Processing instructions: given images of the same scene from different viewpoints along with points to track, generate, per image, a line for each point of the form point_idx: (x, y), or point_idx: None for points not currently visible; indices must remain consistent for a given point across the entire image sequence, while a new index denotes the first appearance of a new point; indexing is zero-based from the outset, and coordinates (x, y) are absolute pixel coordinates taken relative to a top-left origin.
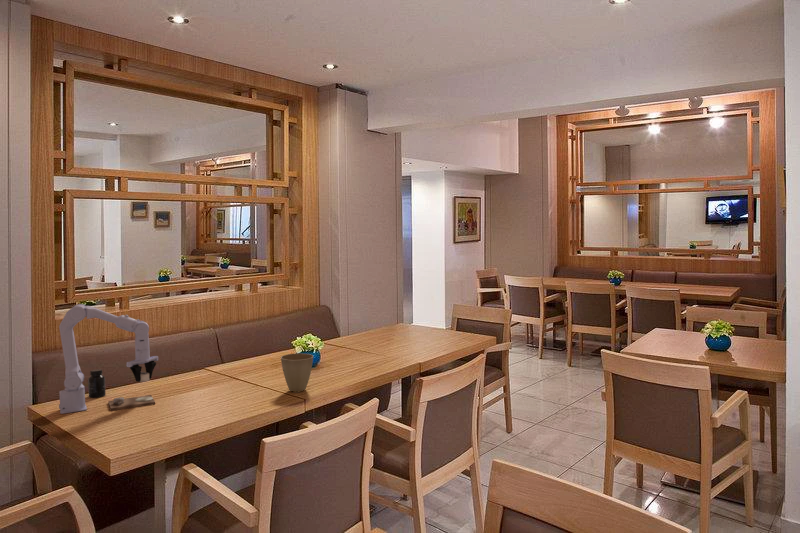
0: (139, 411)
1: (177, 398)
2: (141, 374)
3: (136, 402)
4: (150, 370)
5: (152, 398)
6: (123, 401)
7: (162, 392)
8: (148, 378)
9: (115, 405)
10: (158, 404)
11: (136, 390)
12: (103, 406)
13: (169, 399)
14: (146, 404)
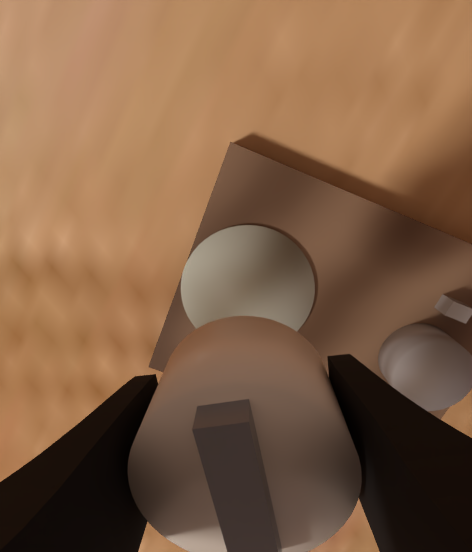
0: (441, 37)
1: (25, 140)
2: (297, 466)
3: (332, 263)
4: (78, 486)
5: (197, 250)
6: (402, 336)
7: (45, 391)
8: (199, 342)
9: (468, 323)
10: (220, 106)
11: (142, 547)
12: (467, 412)
13: (86, 172)
14: (297, 170)
